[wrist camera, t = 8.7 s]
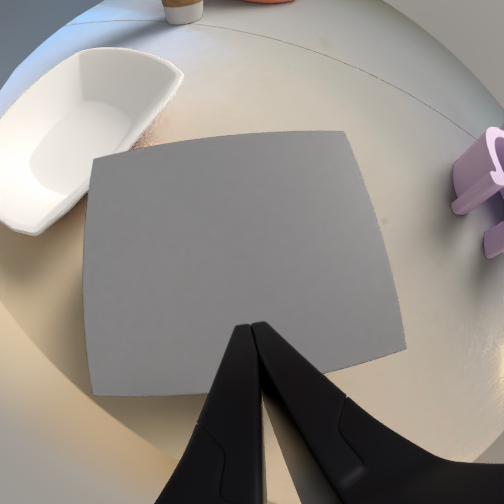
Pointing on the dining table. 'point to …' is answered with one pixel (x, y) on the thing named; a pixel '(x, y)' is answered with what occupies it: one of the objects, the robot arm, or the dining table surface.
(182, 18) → the coffee cup
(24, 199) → the bowl
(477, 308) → the dining table surface
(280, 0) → the teapot
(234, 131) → the dining table surface
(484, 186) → the clip
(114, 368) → the box lid
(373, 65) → the dining table surface
